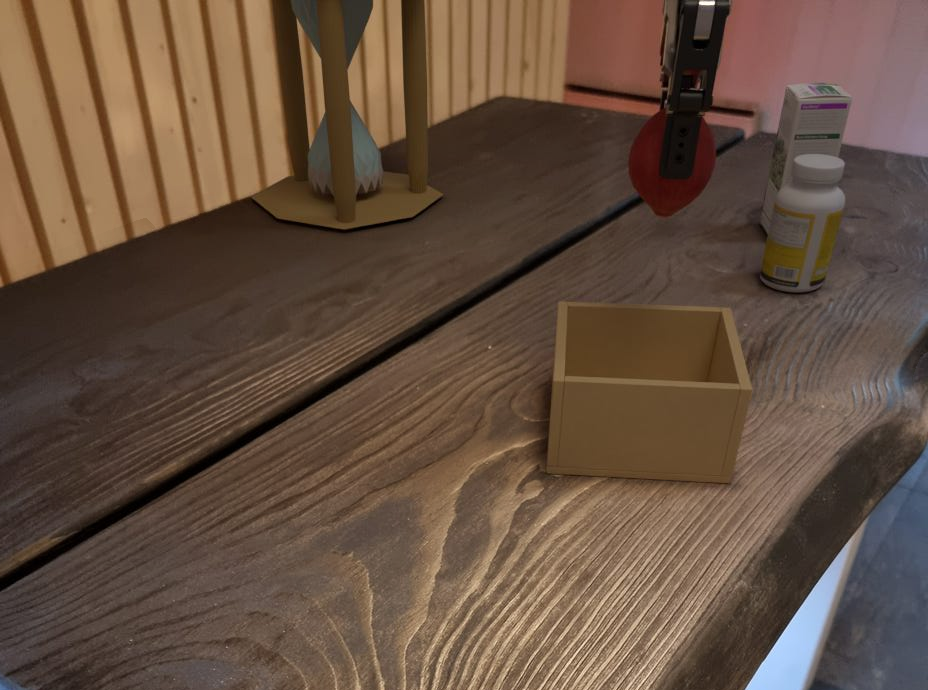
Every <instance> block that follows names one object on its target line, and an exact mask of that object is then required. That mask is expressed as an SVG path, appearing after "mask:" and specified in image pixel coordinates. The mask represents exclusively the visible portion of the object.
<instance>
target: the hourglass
mask: <svg viewBox="0 0 928 690" xmlns="http://www.w3.org/2000/svg"><path fill="white" fill-rule="evenodd" d="M425 3H426V2H425V0H400V6H401V7H400V8H401V12H400V13H401V45H402V49H401V50H402V82H403V103H404V104H403V106H404V124H405V125H404V126H405V144H406V146H405V147H406V166H407V167H406V168H407V174H405V173H399V172H392V171H384V168H383V164H382V154H381V151H380V149H379V147H378V144H377V143H376V141H375V139H374V138H373V136H372V134H371V132H370V131H369V130H368V128H367V126H366V124H365V123H364V121H363V119H362V117H361V116H360V114H359V112H358V111H357V109H356V108H355V105H354V104H353V103H352V101H351V95H350V83H349V73H348V70H349V68H350V65H351V63H352V62H353V58H354V56H355V53H356V51H357V48H358V46H359V45H360V42H361V40H362V37H363V34H364V32H365V30H366V27H367V25H368V22H369V21H370V18H371V14H372V11H373V9H374V0H271V4H272V5H271V7H272V14H273V24H274V33H275V44H276V53H277V61H278V63H277V64H278V72H279V80H280V81H279V82H280V89H281V95H282V103H283V111H284V119H285V126H286V134H287V142H288V150H289V157H290V162H291V168H292V171H293V175H288V176H286V177H284V178H282V179H280V180H279V181H276V182H275V183H272V184H271V185H269V186H267V187H265V188H264V189H261V190H259V191H258V192H256V193H255V194H253V195H251V196H250V198H251V199H253V200H254V201H255V202H256V203H257V204H259V205H260V206H261V207H263V208H264V209H265V210H266V211H268V212H269V213H270V214H271V215H273V216H274V217H275V218H276V219H279V220H285V221H289V222H290V221H291V222H298V223H303V224H308V225H314V226H321V227H326V228H333V229H338V230H339V229H340V230H349V229H355V228H359V227H365V226H371V225H376V224H381V223H382V224H383V223H388V222H393V221H398V220H402V219H408V218H413V217H416V215H418V214H419V213H421V212H422V211H423V210H425V209H426V208H427V207H429V206H430V205H432V204H433V203H434V202H436V201H437V200H439V199H440V198H441V197H442V196H444V193H442V192H440V191H439V190H437V189H436V188H434V187H432V186H430V185H428V178H429V177H428V175H429V135H428V134H429V124H428V123H429V122H428V121H429V120H428V118H429V117H428V115H429V114H428V111H429V110H428V109H429V108H428V70H427V69H428V67H427V66H428V64H427V63H428V61H427V35H426V33H427V32H426V4H425ZM298 23H299V25H300V26H301V27H300V28H302V30H303V32H304V34H305V35H306V36H307V38H308V40H309V42H310V44H311V45H312V47H313V48H314V50H315V52H316V53H317V55H318V57H319V58H320V64H321V76H322V91H323V100H324V103H323V104H324V114H323V116H322V118H321V121H320V123H319V125H318V128H317V131H316V133H315V135H314V137H313V139H312V142H311V145H310V138H309V127H308V114H307V103H306V92H305V83H304V72H303V71H304V70H303V62H302V54H301V53H302V52H301V45H300V38H299V37H300V36H299V29H298V27H299V26H298Z"/></svg>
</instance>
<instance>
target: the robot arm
mask: <svg viewBox="0 0 928 690" xmlns="http://www.w3.org/2000/svg"><path fill="white" fill-rule="evenodd" d="M661 7H662V9H661V10H662V16H663V20H662V25H661V27H662V28H661V32H660V33H661V34H660V38H659V57H660V59H659V60H660V61H659V66H660V67H661V68H660V72H661V73H660V74H659V82H660V88H661V89H662V91H661V97H660V105H659V111H660V110H662V109H666V120H665V127H664V134H663V142H662V149H661V156H660V163H659V174H660V176H661V177H662V178H663V179H679V180H686V179H688V178H690V177H691V176H692V174H693V169H694V163H695V157H696V151H697V145H698V139H699V133H700V127H701V121H702V116H703V117H705V116H706V114H707V113H709V112H710V109H711V106H713V102H714V95H713V93H714V87H715V83H716V76H717V72H718V69H719V68H720V65H721V62H722V61H721V60H722V53H723V45H724V37H725V30H726V23H727V21H728V19H729V17H730V15H731V13H732V7H733V0H662V6H661ZM698 85H699V88H698Z"/></svg>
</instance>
